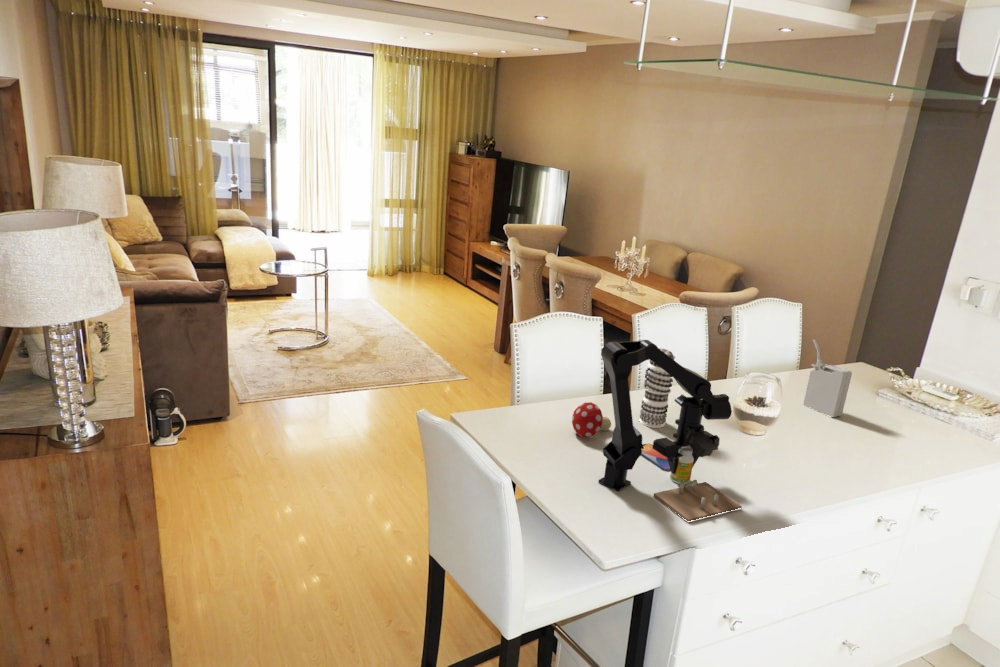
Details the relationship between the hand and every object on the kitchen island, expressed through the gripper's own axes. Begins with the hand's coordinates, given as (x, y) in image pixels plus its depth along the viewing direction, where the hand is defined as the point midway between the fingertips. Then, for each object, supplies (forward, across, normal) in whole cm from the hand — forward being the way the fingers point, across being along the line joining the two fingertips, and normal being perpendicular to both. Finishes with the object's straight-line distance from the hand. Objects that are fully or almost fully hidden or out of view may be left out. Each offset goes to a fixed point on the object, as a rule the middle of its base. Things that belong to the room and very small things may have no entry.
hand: (681, 471), depth 182 cm
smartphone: (+3, +3, +13) cm, 13 cm away
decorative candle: (+3, +18, +34) cm, 38 cm away
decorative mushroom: (+3, -6, +32) cm, 33 cm away
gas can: (+3, +88, +24) cm, 91 cm away
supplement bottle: (+3, 0, 0) cm, 3 cm away
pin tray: (+2, -4, -11) cm, 12 cm away
